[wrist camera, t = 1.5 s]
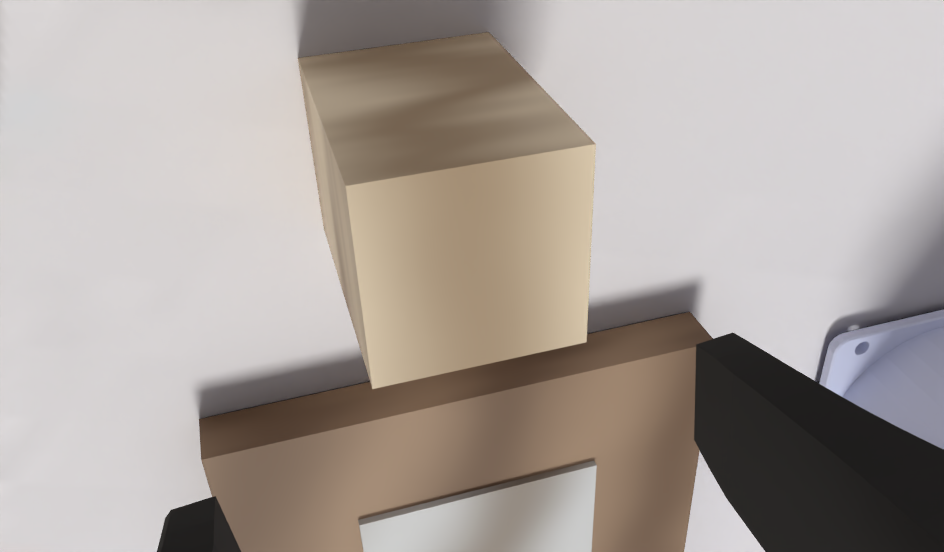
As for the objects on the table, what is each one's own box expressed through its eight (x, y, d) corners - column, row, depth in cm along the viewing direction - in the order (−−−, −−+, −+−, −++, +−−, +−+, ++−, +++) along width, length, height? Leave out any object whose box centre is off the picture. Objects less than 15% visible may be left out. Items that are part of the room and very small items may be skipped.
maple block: (488, 31, 19) (596, 144, 15) (492, 198, 22) (586, 342, 17) (297, 57, 19) (345, 186, 14) (323, 228, 21) (372, 389, 16)
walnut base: (689, 311, 26) (719, 346, 24) (652, 606, 34) (673, 644, 32) (198, 419, 23) (201, 465, 21) (284, 714, 31) (289, 762, 29)
